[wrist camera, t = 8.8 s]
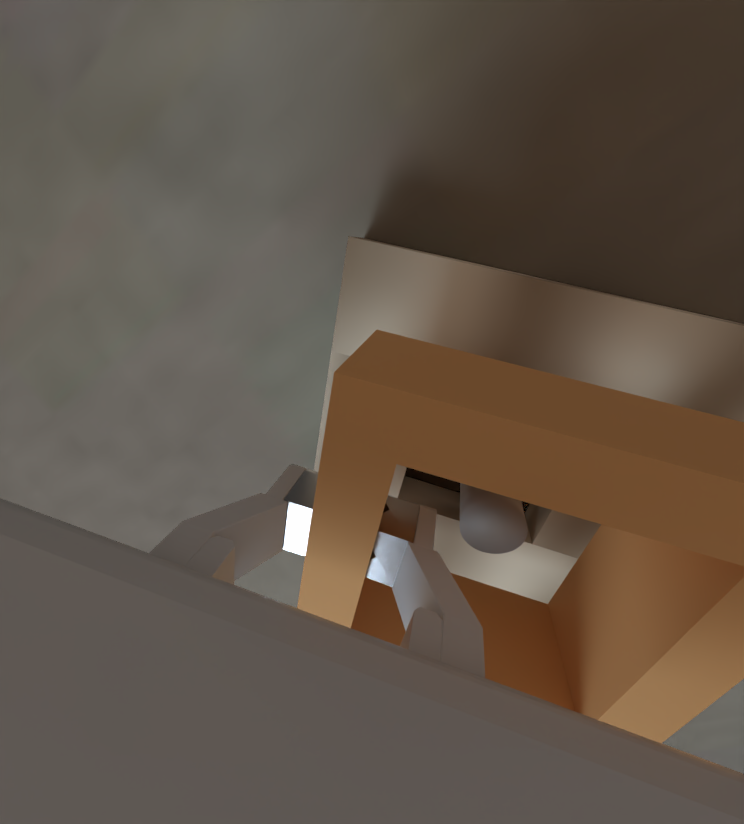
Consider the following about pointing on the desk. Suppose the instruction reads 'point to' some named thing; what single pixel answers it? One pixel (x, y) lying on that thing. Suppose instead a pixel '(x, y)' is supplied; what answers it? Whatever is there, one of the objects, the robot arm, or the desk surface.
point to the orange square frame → (560, 491)
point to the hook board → (537, 349)
